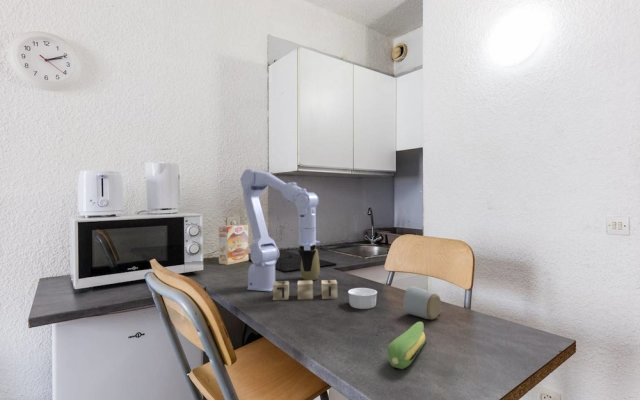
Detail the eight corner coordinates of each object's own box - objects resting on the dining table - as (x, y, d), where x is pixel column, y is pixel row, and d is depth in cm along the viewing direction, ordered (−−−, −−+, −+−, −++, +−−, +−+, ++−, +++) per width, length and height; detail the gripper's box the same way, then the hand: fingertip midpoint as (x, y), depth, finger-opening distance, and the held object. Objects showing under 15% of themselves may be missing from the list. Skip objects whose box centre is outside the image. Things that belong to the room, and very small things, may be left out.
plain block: (297, 299, 110) (297, 284, 110) (298, 295, 115) (297, 280, 115) (313, 299, 110) (312, 284, 110) (312, 295, 115) (312, 280, 115)
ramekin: (342, 305, 103) (342, 291, 103) (359, 299, 109) (359, 286, 109) (366, 312, 97) (366, 297, 97) (382, 305, 103) (382, 290, 103)
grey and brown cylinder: (429, 324, 87) (429, 294, 87) (402, 316, 93) (402, 288, 93) (448, 314, 94) (448, 287, 94) (422, 308, 100) (422, 282, 100)
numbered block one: (322, 299, 110) (322, 283, 110) (321, 294, 115) (321, 279, 115) (337, 298, 110) (337, 283, 110) (336, 294, 115) (335, 279, 115)
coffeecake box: (227, 265, 169) (227, 226, 169) (218, 263, 173) (217, 225, 173) (249, 260, 182) (248, 224, 182) (239, 259, 186) (239, 223, 186)
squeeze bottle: (320, 281, 133) (319, 236, 133) (299, 281, 133) (299, 236, 133) (320, 276, 141) (319, 234, 141) (301, 277, 141) (300, 234, 141)
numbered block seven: (272, 300, 109) (272, 284, 109) (274, 295, 114) (274, 280, 114) (288, 300, 109) (288, 284, 109) (289, 295, 114) (288, 280, 114)
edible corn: (378, 347, 64) (400, 345, 62) (412, 318, 81) (430, 316, 79) (386, 375, 63) (408, 375, 61) (418, 341, 80) (437, 339, 78)
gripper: (319, 230, 105) (320, 273, 105) (318, 226, 120) (318, 264, 120) (297, 230, 105) (297, 273, 105) (298, 226, 120) (299, 264, 120)
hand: (307, 268), depth 112 cm, fingers open, 7 cm apart
